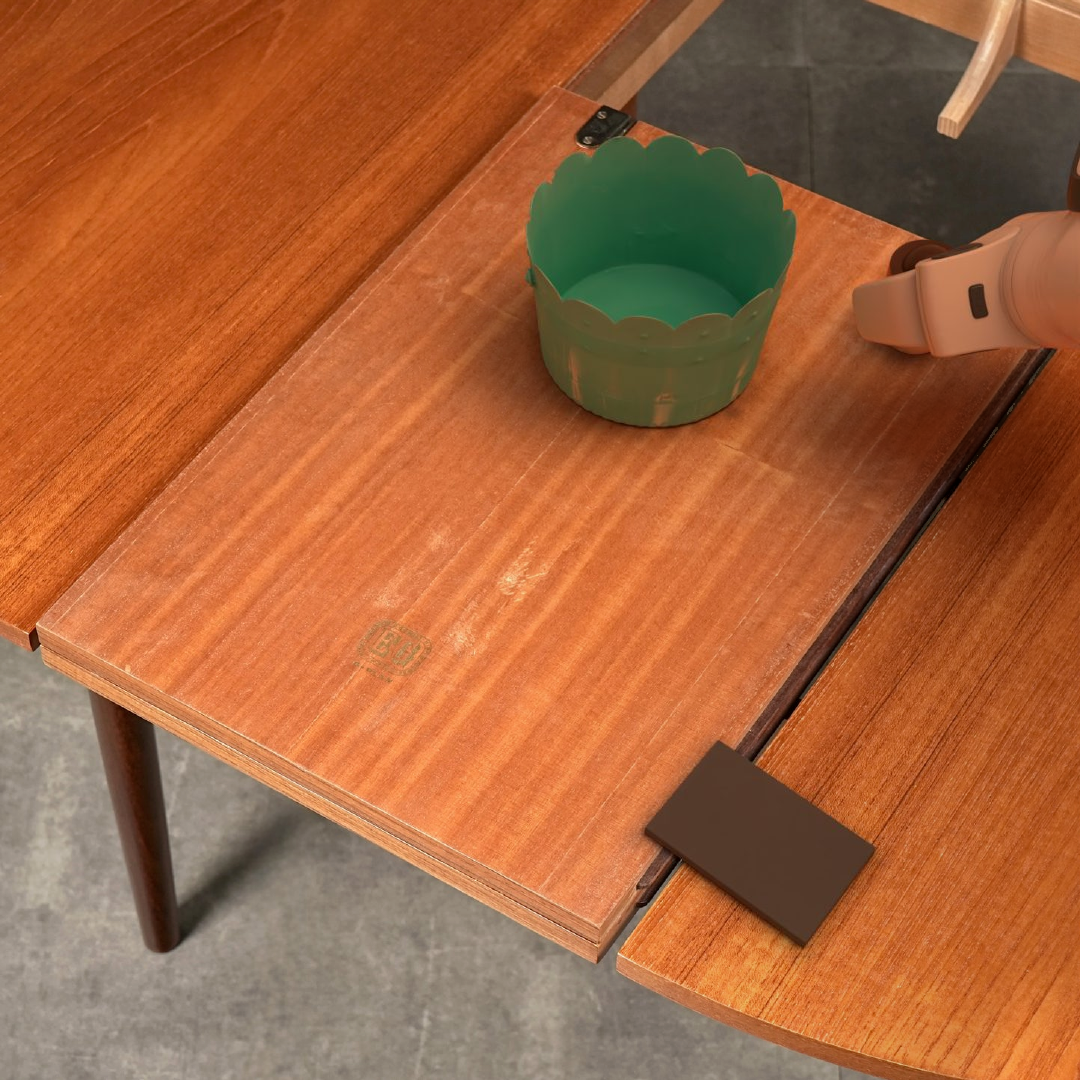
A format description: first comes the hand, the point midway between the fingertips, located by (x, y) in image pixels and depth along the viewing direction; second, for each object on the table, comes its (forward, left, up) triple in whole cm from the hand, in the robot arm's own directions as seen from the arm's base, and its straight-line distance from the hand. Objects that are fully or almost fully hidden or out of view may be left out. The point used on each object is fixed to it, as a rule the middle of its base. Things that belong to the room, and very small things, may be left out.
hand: (945, 278), depth 124 cm
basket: (+17, +13, -7) cm, 23 cm away
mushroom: (+2, -1, -7) cm, 8 cm away
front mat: (-13, +42, -7) cm, 45 cm away
